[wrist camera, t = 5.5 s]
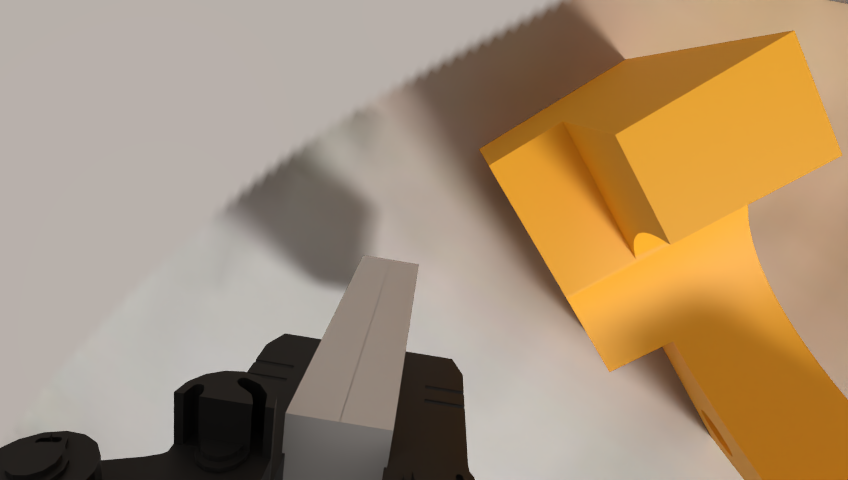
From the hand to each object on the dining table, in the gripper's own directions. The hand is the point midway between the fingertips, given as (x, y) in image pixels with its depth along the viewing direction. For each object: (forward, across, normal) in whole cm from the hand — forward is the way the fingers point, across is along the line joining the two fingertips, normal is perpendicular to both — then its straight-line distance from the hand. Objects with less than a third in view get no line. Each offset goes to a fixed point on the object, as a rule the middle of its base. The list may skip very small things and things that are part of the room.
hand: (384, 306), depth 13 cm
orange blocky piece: (+2, +7, +1) cm, 8 cm away
